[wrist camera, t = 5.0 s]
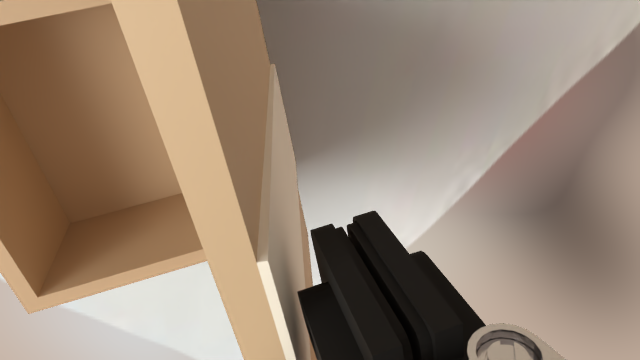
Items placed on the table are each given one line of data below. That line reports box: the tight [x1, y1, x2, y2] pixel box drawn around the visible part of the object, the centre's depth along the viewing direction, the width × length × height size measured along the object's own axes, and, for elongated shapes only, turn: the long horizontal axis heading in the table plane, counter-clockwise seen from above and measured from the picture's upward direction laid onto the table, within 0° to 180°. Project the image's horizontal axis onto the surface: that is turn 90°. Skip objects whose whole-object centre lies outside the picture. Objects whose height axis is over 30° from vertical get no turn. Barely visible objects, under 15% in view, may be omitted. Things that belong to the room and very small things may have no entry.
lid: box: [111, 0, 317, 360], centre depth 15 cm, size 14×14×1 cm
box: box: [0, 0, 207, 314], centre depth 24 cm, size 14×14×8 cm
